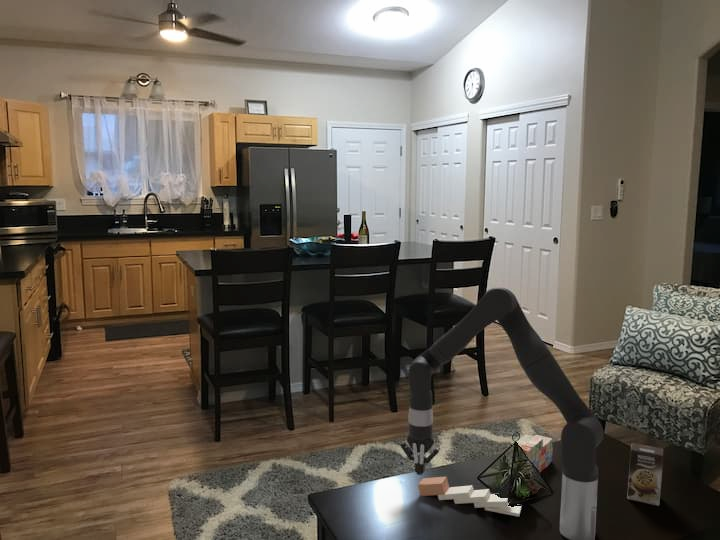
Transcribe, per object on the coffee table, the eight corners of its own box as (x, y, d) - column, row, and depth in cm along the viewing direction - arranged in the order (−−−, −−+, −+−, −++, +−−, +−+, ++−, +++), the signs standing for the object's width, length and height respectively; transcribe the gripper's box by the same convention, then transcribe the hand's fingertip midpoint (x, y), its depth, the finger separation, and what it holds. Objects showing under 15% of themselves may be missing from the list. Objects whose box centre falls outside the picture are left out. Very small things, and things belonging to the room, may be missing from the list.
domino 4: (478, 499, 179) (511, 498, 174) (474, 507, 174) (507, 506, 170) (477, 494, 179) (509, 493, 174) (473, 502, 174) (506, 501, 170)
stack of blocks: (535, 458, 208) (536, 425, 207) (552, 464, 204) (553, 430, 203) (508, 480, 192) (510, 445, 190) (527, 486, 188) (528, 450, 186)
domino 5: (487, 503, 178) (521, 510, 174) (484, 511, 174) (519, 518, 170) (487, 498, 178) (521, 505, 174) (484, 506, 173) (519, 513, 170)
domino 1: (426, 488, 186) (449, 487, 182) (420, 496, 181) (444, 494, 178) (423, 478, 186) (446, 476, 182) (417, 485, 181) (441, 483, 178)
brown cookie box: (626, 499, 180) (629, 449, 178) (628, 490, 186) (631, 441, 184) (659, 506, 176) (663, 455, 174) (660, 497, 181) (663, 447, 179)
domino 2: (444, 492, 183) (474, 490, 179) (439, 500, 179) (469, 497, 174) (442, 488, 183) (472, 485, 179) (437, 495, 179) (468, 492, 174)
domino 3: (459, 496, 181) (490, 494, 177) (454, 503, 177) (486, 501, 172) (458, 491, 181) (488, 489, 177) (453, 498, 177) (484, 496, 172)
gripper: (444, 419, 182) (443, 472, 184) (404, 413, 187) (403, 465, 189) (438, 428, 175) (436, 483, 177) (396, 421, 180) (395, 474, 182)
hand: (419, 473), depth 183 cm, fingers closed
